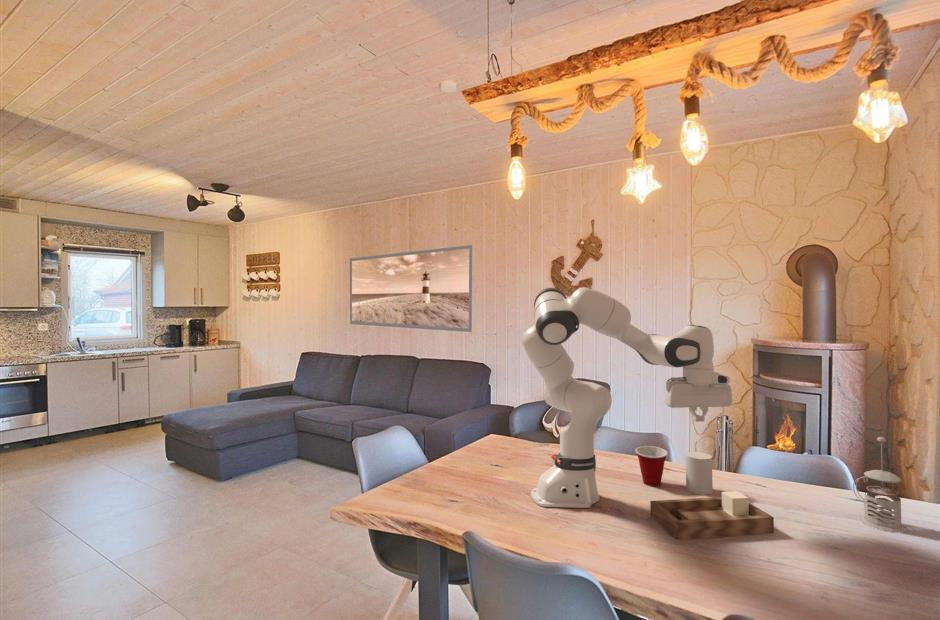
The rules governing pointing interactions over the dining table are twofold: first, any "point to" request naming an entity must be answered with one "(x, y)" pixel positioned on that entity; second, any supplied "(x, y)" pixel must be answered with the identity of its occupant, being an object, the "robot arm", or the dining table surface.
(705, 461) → the beige cylinder
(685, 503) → the box
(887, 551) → the dining table surface
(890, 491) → the french press
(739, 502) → the block
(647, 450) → the plastic cup
